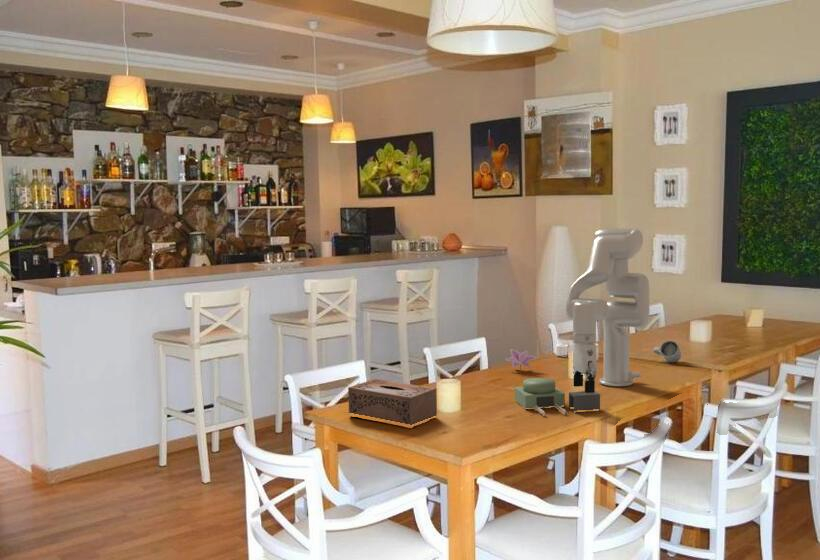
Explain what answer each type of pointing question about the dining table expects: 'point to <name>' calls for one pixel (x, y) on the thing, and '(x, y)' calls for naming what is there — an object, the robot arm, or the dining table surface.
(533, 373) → the dining table surface
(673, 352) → the ceramic mug
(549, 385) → the mower deck
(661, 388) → the dining table surface
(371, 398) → the tissue box cover
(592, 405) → the chute
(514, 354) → the lily
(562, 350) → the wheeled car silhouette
